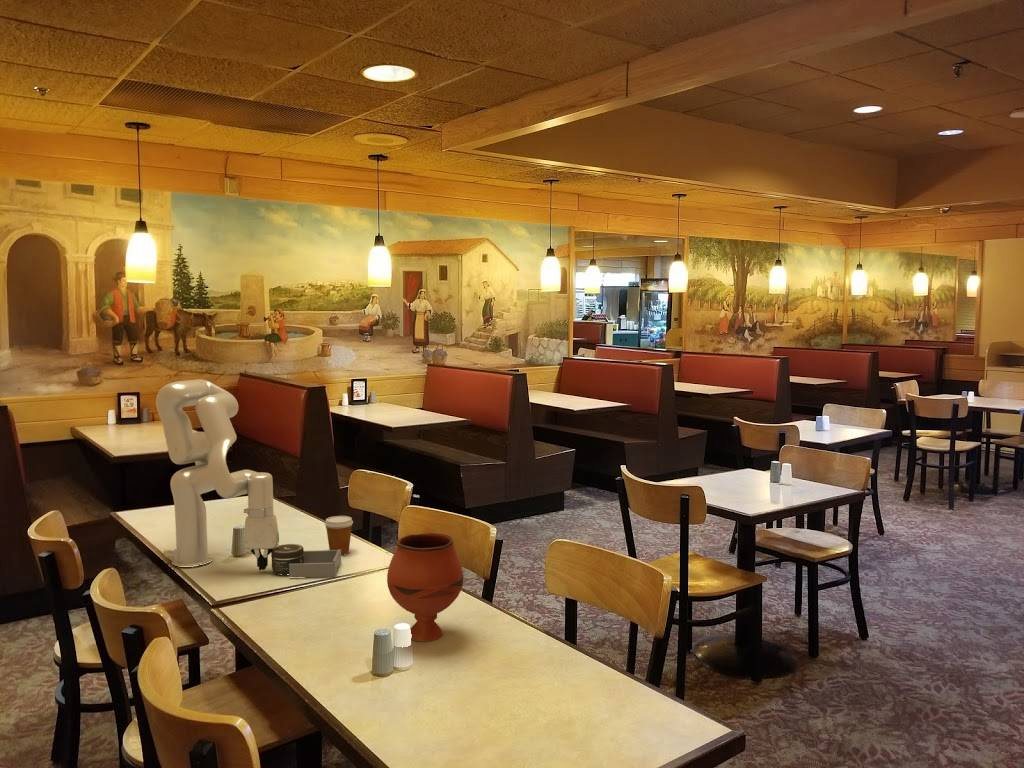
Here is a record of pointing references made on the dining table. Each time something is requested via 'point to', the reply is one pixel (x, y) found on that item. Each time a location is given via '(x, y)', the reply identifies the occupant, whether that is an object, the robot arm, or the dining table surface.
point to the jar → (286, 557)
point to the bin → (317, 564)
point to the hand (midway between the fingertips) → (262, 568)
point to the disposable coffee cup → (339, 533)
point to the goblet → (425, 580)
